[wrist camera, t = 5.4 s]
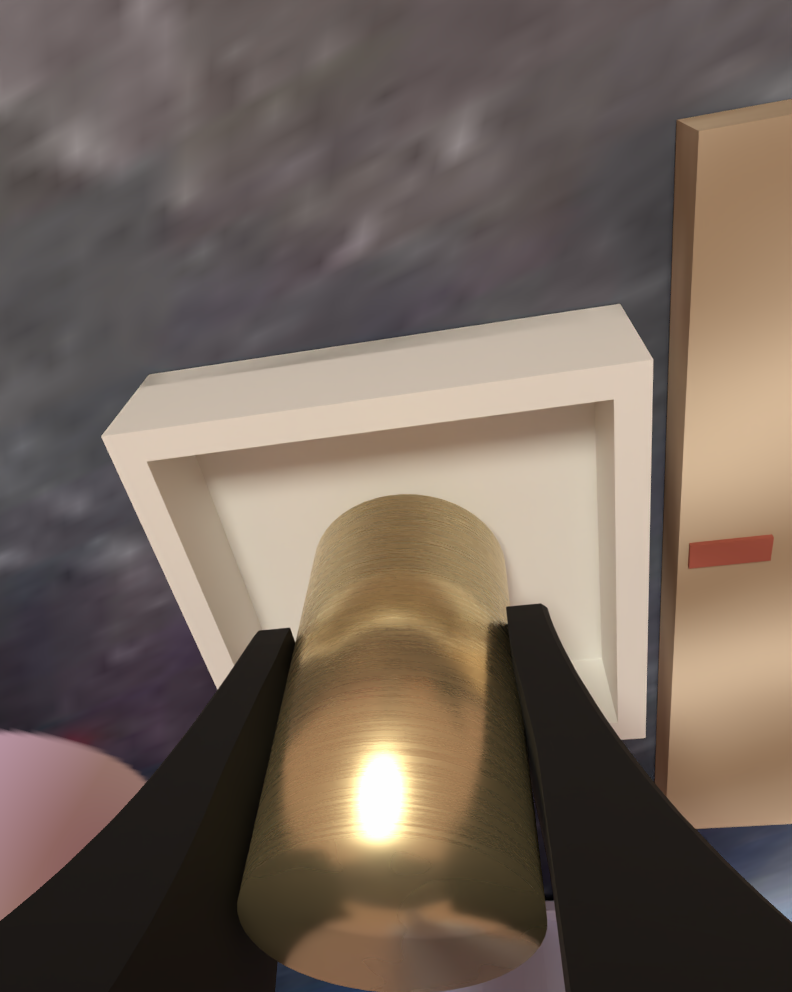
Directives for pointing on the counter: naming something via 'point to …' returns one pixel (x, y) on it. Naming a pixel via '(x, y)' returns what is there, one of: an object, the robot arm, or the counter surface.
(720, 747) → the crank board
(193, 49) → the counter surface
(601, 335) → the tray
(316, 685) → the brass cylinder
